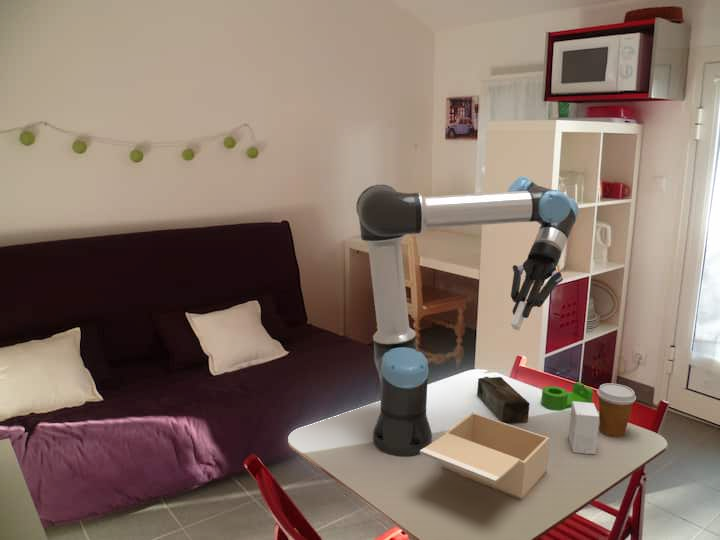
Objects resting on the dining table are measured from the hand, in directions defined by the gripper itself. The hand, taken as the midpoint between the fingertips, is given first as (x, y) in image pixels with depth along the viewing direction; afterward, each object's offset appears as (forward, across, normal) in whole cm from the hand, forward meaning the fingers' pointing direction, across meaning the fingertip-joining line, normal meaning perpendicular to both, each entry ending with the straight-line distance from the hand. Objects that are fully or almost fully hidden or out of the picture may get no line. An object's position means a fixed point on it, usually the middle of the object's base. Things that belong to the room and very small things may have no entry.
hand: (514, 326), depth 146 cm
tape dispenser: (-1, -2, -48) cm, 48 cm away
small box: (+14, -15, -32) cm, 38 cm away
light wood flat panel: (+30, -3, -3) cm, 30 cm away
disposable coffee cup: (+5, -19, -41) cm, 45 cm away
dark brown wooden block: (+10, +10, -37) cm, 39 cm away
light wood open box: (+31, -3, -14) cm, 34 cm away
